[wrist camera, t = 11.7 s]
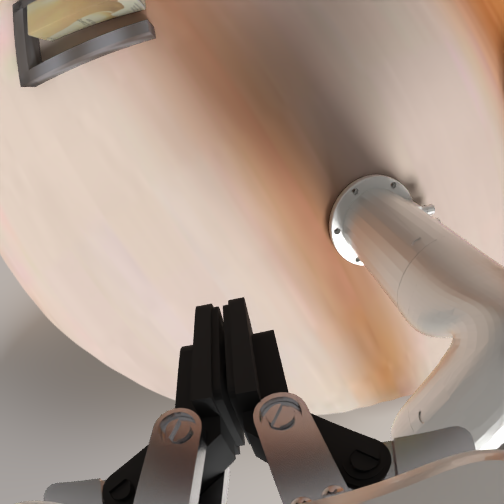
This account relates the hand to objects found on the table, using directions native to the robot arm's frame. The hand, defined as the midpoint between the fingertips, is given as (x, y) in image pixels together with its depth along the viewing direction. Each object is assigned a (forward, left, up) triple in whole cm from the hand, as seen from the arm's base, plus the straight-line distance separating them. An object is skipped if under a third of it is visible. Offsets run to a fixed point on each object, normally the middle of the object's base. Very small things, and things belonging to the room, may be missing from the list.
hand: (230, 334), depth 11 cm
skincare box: (+4, -23, -24) cm, 33 cm away
